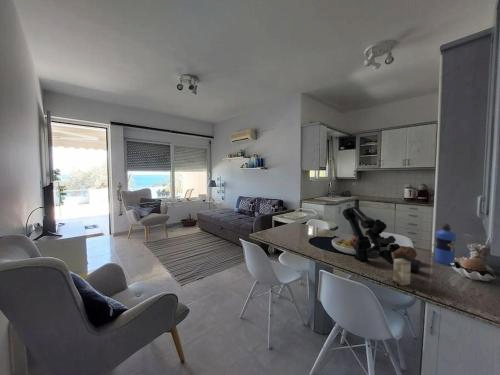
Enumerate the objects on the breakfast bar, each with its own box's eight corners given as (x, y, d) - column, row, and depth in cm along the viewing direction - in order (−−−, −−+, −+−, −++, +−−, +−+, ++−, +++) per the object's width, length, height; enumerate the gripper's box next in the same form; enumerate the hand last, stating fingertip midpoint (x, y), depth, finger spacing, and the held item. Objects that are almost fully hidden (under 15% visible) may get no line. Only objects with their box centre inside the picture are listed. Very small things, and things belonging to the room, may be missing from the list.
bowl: (373, 260, 135) (373, 249, 135) (326, 251, 153) (326, 240, 153) (378, 247, 159) (378, 238, 159) (337, 240, 177) (337, 231, 177)
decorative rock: (415, 259, 135) (416, 245, 135) (417, 266, 126) (418, 250, 125) (391, 255, 143) (391, 241, 142) (391, 261, 133) (392, 246, 133)
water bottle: (431, 260, 134) (432, 222, 132) (439, 258, 137) (441, 221, 136) (449, 266, 125) (451, 226, 124) (458, 264, 128) (460, 224, 127)
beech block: (393, 280, 109) (393, 259, 108) (400, 279, 110) (401, 258, 109) (402, 285, 104) (403, 263, 103) (409, 284, 105) (410, 261, 104)
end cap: (396, 268, 123) (397, 257, 123) (400, 265, 127) (401, 254, 127) (417, 275, 115) (418, 263, 115) (421, 271, 119) (421, 260, 119)
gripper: (371, 232, 114) (388, 259, 103) (397, 229, 118) (416, 255, 108) (359, 241, 122) (375, 268, 111) (385, 239, 126) (402, 264, 116)
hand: (392, 263), depth 111 cm, fingers closed
